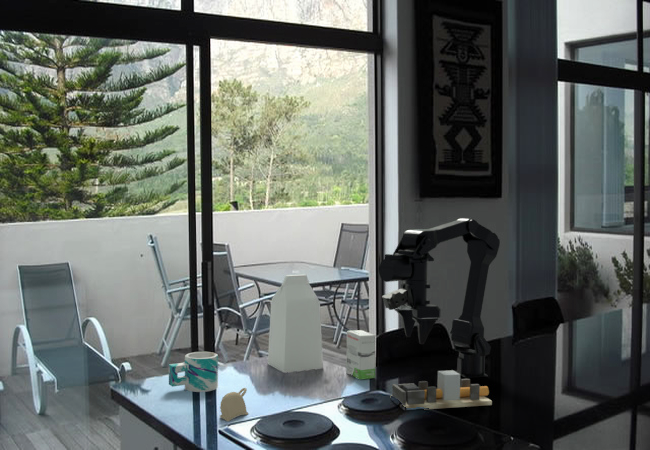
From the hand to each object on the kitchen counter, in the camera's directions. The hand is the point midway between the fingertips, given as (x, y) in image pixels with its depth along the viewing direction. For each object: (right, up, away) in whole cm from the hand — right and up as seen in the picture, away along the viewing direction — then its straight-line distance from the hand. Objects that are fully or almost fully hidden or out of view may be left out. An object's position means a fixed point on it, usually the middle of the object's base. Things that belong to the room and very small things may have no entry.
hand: (414, 340), depth 188 cm
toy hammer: (+6, -12, -13) cm, 18 cm away
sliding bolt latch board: (+5, -13, -13) cm, 19 cm away
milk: (-31, -11, +21) cm, 40 cm away
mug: (-56, -12, -4) cm, 57 cm away
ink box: (-13, -12, +12) cm, 21 cm away
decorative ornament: (-43, -13, -25) cm, 52 cm away
